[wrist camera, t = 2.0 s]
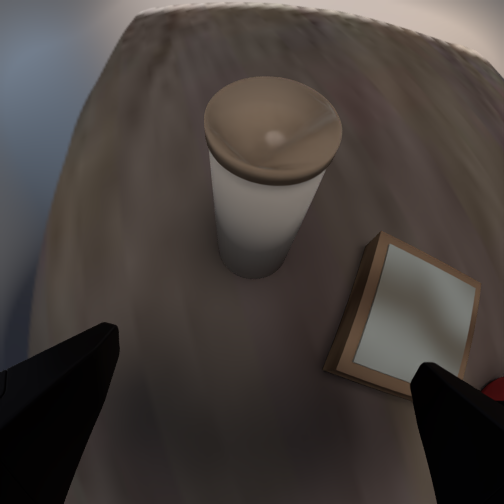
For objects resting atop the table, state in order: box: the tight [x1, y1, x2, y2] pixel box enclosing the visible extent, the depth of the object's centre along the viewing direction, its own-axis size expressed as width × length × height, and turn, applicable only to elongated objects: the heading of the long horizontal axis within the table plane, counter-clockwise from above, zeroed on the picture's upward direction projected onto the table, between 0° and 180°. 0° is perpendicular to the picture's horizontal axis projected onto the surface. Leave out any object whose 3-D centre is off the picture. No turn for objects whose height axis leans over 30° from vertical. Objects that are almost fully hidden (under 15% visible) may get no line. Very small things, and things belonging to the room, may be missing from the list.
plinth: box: [322, 231, 481, 401], centre depth 20 cm, size 10×10×3 cm
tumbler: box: [204, 76, 342, 279], centre depth 17 cm, size 5×5×13 cm
